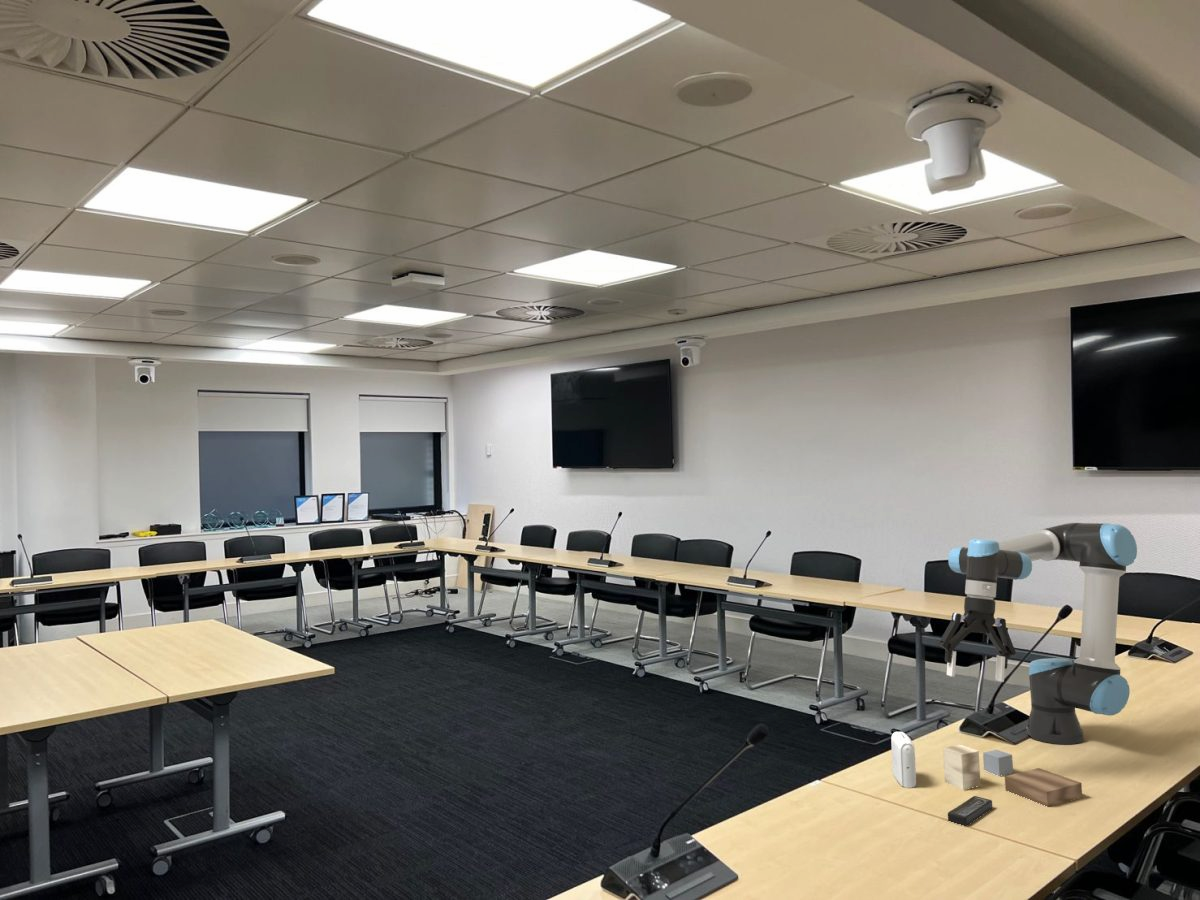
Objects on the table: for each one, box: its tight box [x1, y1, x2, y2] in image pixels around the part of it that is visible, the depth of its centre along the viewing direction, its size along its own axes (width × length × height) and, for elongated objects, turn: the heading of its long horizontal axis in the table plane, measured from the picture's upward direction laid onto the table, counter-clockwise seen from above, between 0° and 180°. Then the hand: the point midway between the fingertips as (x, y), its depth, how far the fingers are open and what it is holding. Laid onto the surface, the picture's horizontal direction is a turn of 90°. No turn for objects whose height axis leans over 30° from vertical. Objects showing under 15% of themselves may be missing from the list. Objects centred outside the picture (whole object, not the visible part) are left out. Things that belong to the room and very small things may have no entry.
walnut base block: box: [1004, 767, 1083, 808], centre depth 205 cm, size 12×12×4 cm
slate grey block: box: [982, 749, 1014, 777], centre depth 221 cm, size 5×5×5 cm
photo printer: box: [890, 731, 917, 789], centre depth 218 cm, size 10×4×12 cm, turn 175°
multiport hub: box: [947, 795, 994, 827], centre depth 195 cm, size 4×14×2 cm, turn 132°
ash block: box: [942, 744, 982, 791], centre depth 214 cm, size 6×6×9 cm
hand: (975, 678), depth 218 cm, fingers open, 13 cm apart
